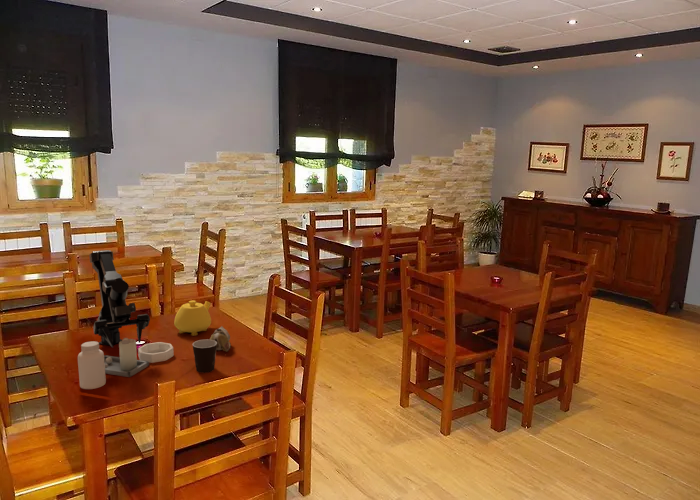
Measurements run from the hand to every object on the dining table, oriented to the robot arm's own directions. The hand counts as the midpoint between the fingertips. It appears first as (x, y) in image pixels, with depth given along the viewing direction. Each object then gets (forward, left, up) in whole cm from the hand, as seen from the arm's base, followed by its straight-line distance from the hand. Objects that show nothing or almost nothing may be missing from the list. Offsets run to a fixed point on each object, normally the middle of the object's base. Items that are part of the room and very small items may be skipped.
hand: (126, 344), depth 193 cm
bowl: (+3, +13, -9) cm, 16 cm away
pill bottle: (-2, -15, -10) cm, 18 cm away
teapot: (0, +47, -10) cm, 48 cm away
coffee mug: (+26, +11, -10) cm, 30 cm away
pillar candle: (+2, -1, -9) cm, 9 cm away
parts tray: (-3, -1, -9) cm, 10 cm away
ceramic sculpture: (+21, +29, -10) cm, 37 cm away
